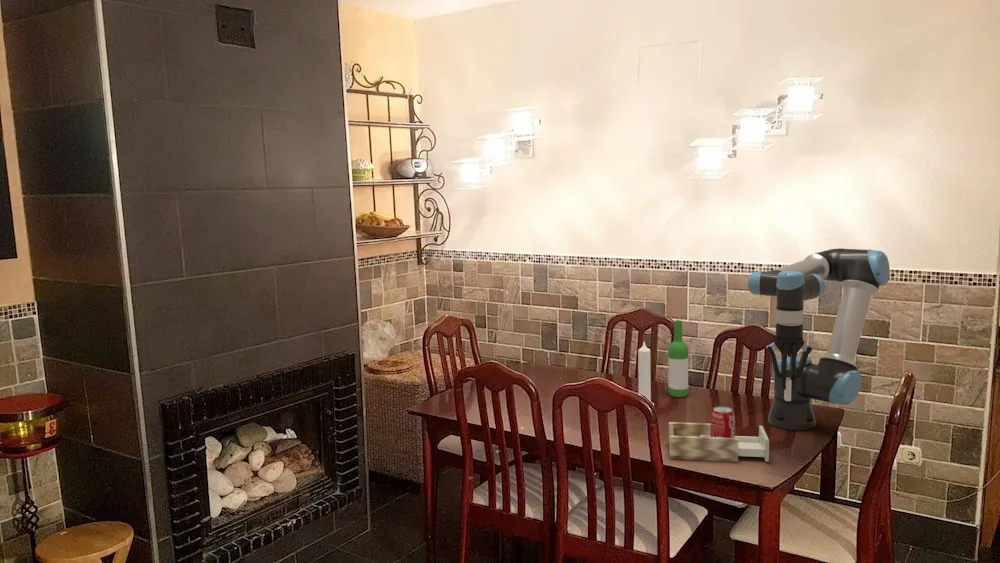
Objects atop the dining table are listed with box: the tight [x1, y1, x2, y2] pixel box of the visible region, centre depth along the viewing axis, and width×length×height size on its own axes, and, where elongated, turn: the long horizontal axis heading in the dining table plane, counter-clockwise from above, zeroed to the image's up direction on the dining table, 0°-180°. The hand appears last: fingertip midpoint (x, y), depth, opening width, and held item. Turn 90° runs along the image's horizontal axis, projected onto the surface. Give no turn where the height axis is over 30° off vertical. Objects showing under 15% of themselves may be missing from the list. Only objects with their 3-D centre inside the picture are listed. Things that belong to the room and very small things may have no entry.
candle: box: [637, 341, 655, 407], centre depth 269 cm, size 7×7×25 cm
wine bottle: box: [667, 319, 689, 398], centre depth 281 cm, size 8×8×30 cm
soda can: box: [710, 405, 736, 438], centre depth 221 cm, size 7×7×12 cm
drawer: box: [700, 425, 770, 463], centre depth 221 cm, size 19×13×7 cm
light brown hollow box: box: [668, 421, 739, 463], centre depth 223 cm, size 20×14×7 cm
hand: (787, 399), depth 215 cm, fingers closed
